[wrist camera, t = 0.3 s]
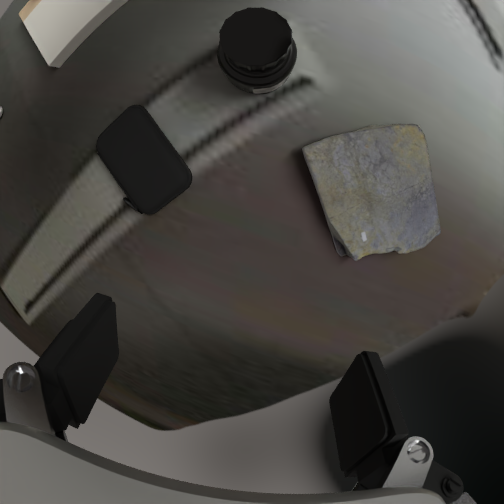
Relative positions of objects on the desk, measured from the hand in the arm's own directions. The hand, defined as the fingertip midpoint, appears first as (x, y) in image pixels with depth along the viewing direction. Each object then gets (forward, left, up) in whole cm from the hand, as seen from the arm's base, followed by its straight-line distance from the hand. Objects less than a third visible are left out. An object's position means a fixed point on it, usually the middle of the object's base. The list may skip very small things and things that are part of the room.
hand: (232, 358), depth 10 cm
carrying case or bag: (+11, -13, -32) cm, 36 cm away
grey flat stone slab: (-14, +10, -32) cm, 36 cm away
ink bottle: (-10, -14, -31) cm, 36 cm away
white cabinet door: (+1, -48, -31) cm, 57 cm away
